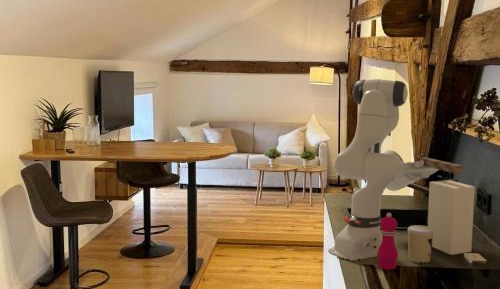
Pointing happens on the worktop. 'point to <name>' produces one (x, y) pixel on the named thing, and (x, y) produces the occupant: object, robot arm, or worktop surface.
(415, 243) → the coffee cup
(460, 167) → the walnut bar
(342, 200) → the worktop surface
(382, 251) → the pepper mill
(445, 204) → the cream stand
